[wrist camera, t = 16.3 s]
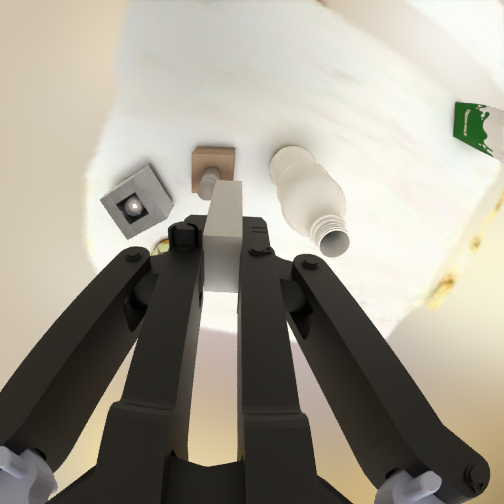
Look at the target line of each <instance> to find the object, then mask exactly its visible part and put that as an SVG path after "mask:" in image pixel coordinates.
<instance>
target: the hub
mask: <svg viewBox="0 0 504 504" xmlns="http://www.w3.org/2000/svg"><path fill="white" fill-rule="evenodd" d="M129 197H130V198H129V199H128V201H127V202H126V203H125V210H126V212H127V213H128V214H129V215H131V216H137V215H139V214H140V212H141V211H142V210H143V209H144V208H145V206H144V205H143V203H142V202H141V200H140V199H139V197H138V196H137V194H136V193H135V192H134V193H133V194H131V195H130V196H129Z"/></svg>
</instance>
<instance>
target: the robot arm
mask: <svg viewBox="0 0 504 504" xmlns="http://www.w3.org/2000/svg"><path fill="white" fill-rule="evenodd" d="M168 237H169V249H168V252H166V253H163V254H159V255H153V256H150V253H149V251H148V250H147V249H146V248H143V247H137V246H134V247H129V248H127V249H124V250H123V251H121V252H120V253H119V254H118V255H117V256H116V257H115V258H114V259H113V260H112V261H111V262H110V263H109V264H108V265H107V266H106V267H105V268H104V269H103V270H102V271H101V272H100V273H99V274H98V275H97V276H96V277H95V278H94V279H93V280H92V281H91V282H90V283H89V285H88V286H87V287H86V288H85V289H84V290H83V291H82V292H81V293H80V294H79V295H78V296H77V298H76V299H75V300H74V301H73V302H72V303H71V304H70V305H69V307H67V309H66V310H65V311H64V312H63V313H62V314H61V316H60V317H59V318H58V319H57V320H56V321H55V322H54V324H53V325H52V326H51V327H50V328H49V329H48V331H47V332H46V333H45V334H44V335H43V337H42V338H41V339H40V340H39V342H38V343H37V344H36V345H35V347H34V348H33V349H32V350H31V352H30V353H29V354H28V356H27V357H26V358H25V359H24V360H23V362H22V363H21V364H20V366H19V367H18V368H17V370H16V371H15V372H14V374H13V375H12V377H11V378H10V379H9V381H8V382H7V383H6V385H5V386H4V388H3V389H2V391H1V392H0V504H353V503H352V502H350V501H349V500H348V499H347V498H346V497H344V496H343V495H342V494H341V493H340V492H338V491H337V490H336V489H335V488H334V487H333V486H331V485H330V484H329V483H328V482H327V481H326V480H324V479H323V478H321V477H320V476H318V475H317V471H316V465H315V458H314V450H313V444H312V438H311V430H310V425H309V421H308V418H307V416H306V414H305V413H302V412H301V410H300V405H299V399H298V392H297V385H296V378H295V372H294V365H293V359H292V352H291V346H290V340H289V333H288V327H287V322H288V324H289V326H290V328H291V330H292V332H293V334H294V336H295V338H296V340H297V342H298V344H299V346H300V348H301V350H302V352H303V354H304V356H305V357H306V360H307V362H308V364H309V366H310V368H311V370H312V371H313V373H314V375H315V377H316V379H317V381H318V383H319V385H320V387H321V389H322V391H323V393H324V395H325V397H326V399H327V401H328V403H329V405H330V407H331V409H332V411H333V413H334V415H335V417H336V419H337V421H338V423H339V425H340V427H341V429H342V431H343V433H344V435H345V437H346V439H347V441H348V443H349V445H350V447H351V449H352V451H353V453H354V455H355V457H356V459H357V461H358V463H359V465H360V467H361V468H362V470H363V472H364V473H365V475H366V476H367V477H368V479H369V480H370V482H371V483H372V484H373V485H374V486H375V487H376V488H377V489H378V491H377V494H376V496H375V501H374V504H461V503H464V502H466V501H468V500H470V499H473V498H475V497H477V496H478V495H480V494H481V493H483V491H484V490H485V489H486V488H487V486H488V483H489V480H490V468H489V465H488V463H487V462H486V460H485V459H484V458H483V457H482V456H481V455H480V454H478V453H477V452H476V451H474V450H473V449H472V448H471V447H469V446H468V445H467V444H466V443H465V442H463V441H462V440H461V439H460V438H459V437H457V436H456V435H455V434H454V433H453V432H451V431H450V430H449V429H448V428H447V427H445V426H444V425H443V424H442V423H441V421H440V420H439V418H438V416H437V415H436V413H435V412H434V410H433V409H432V407H431V406H430V404H429V403H428V401H427V400H426V398H425V397H424V395H423V394H422V392H421V391H420V389H419V388H418V386H417V385H416V383H415V382H414V380H413V379H412V377H411V376H410V375H409V373H408V372H407V370H406V369H405V367H404V366H403V364H401V362H400V360H399V359H398V357H397V356H396V355H395V353H394V352H393V351H392V349H391V348H390V346H389V345H388V344H387V342H386V341H385V339H384V338H383V337H382V335H381V334H380V332H379V331H378V330H377V328H376V327H375V326H374V324H373V323H372V322H371V320H370V319H369V318H368V316H367V315H366V314H365V312H364V311H363V310H362V308H361V307H360V306H359V304H358V303H357V302H356V300H355V299H354V298H353V297H352V295H351V294H350V293H349V291H348V290H347V289H346V287H345V286H344V285H343V284H342V282H341V281H340V280H339V278H338V277H337V276H336V275H335V273H334V272H333V271H332V270H331V268H330V267H329V266H328V265H327V263H326V262H325V261H324V260H323V259H322V258H320V257H318V256H316V255H312V254H301V255H298V256H296V257H295V258H294V261H293V262H292V261H288V260H284V259H281V258H279V257H277V256H276V255H275V252H274V250H273V248H272V247H270V241H269V235H268V229H267V224H266V222H265V221H264V220H263V219H262V218H261V217H244V216H242V181H227V180H216V183H215V187H214V191H213V195H212V199H211V203H210V207H209V211H208V215H190V216H188V217H187V218H186V219H185V220H184V222H178V223H174V224H172V225H171V226H170V227H169V228H168ZM203 286H204V291H213V292H233V293H238V304H237V314H238V331H237V340H238V341H237V344H238V345H237V349H238V350H237V413H238V414H237V418H238V419H237V420H238V421H237V425H238V426H237V427H238V428H237V430H238V451H237V462H232V463H227V464H222V465H216V466H210V467H206V466H201V465H198V464H195V463H192V462H189V461H188V446H187V445H188V443H187V442H188V430H189V419H190V408H191V398H192V387H193V377H194V368H195V359H196V351H197V343H198V335H199V327H200V319H201V312H202V304H203ZM286 320H287V321H286ZM137 338H138V340H137ZM136 340H137V343H136V347H135V350H134V354H133V357H132V361H131V364H130V368H129V371H128V375H127V379H126V382H125V386H124V390H123V394H122V397H121V399H120V401H117V402H114V403H113V404H112V405H111V406H110V409H109V412H108V414H107V419H106V423H105V427H104V431H103V436H102V440H101V444H100V449H99V454H98V458H97V464H96V465H95V466H94V467H92V468H91V469H90V470H88V471H87V472H86V473H85V474H83V475H82V476H81V477H79V478H78V479H77V480H75V481H74V482H73V483H72V484H70V485H69V486H68V487H66V488H65V489H64V490H63V491H61V492H60V493H58V494H57V495H56V496H54V497H53V498H51V499H50V500H49V501H48V498H49V496H50V494H52V493H55V492H56V491H57V488H58V486H57V482H56V481H55V479H54V475H53V473H54V472H55V471H56V470H57V469H58V468H59V467H60V466H61V465H62V463H63V462H64V461H65V460H66V458H67V457H68V455H69V454H70V452H71V450H72V449H73V447H74V445H75V443H76V442H77V440H78V438H79V436H80V434H81V432H82V431H83V429H84V427H85V425H86V424H87V422H88V420H89V418H90V416H91V414H92V413H93V411H94V409H95V408H96V406H97V404H98V403H99V401H100V399H101V397H102V396H103V394H104V392H105V391H106V389H107V387H108V386H109V384H110V382H111V381H112V379H113V377H114V375H115V374H116V372H117V371H118V369H119V367H120V365H121V364H122V362H123V361H124V359H125V357H126V356H127V354H128V353H129V351H130V350H131V348H132V346H133V345H134V343H135V342H136Z"/></svg>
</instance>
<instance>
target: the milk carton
mask: <svg viewBox="0 0 504 504" xmlns="http://www.w3.org/2000/svg"><path fill="white" fill-rule="evenodd" d="M453 137H455V138H457V139H459V140H461V141H463V142H465V143H467V144H468V145H470V146H472V147H474V148H476V149H478V150H480V151H482V152H484V153H486V154H488V155H490V156H492V157H494V158H496V159H498V160H500V161H502V162H504V111H503V110H499V109H496V108H493V107H489V106H486V105H481V104H472V103H458V102H456V103H455V122H454V135H453Z"/></svg>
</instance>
